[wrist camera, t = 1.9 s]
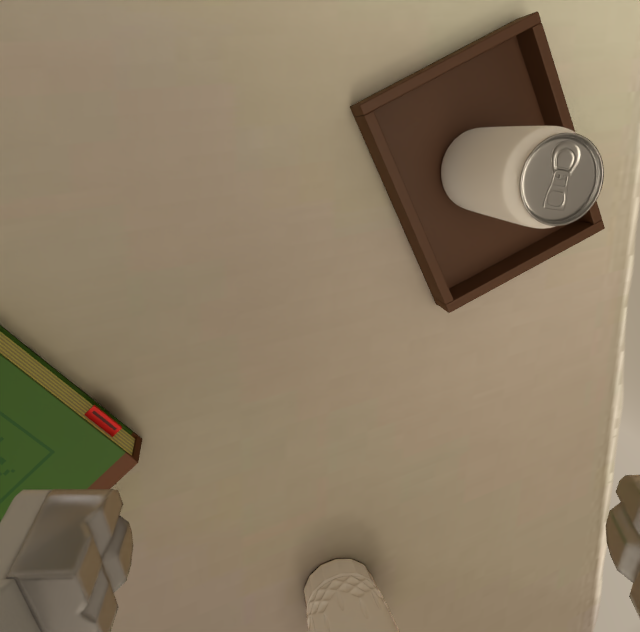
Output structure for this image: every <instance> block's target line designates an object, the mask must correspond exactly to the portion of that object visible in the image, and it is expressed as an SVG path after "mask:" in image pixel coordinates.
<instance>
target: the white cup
mask: <svg viewBox="0 0 640 632" xmlns="http://www.w3.org/2000/svg"><path fill="white" fill-rule="evenodd" d="M304 595H305V604H306V609H307V623H308V631H309V632H400V631H399V629H398V627H397V625H396V623H395V621H394V618H393V616H392V614H391V612H390V610H389V608H388V606H387V604H386V602H385V601H384V598H383V596H382V594H381V592H380V590H379V589H378V588H377V586H376V584H375V582H374V579H373V577H372V575H371V574H370V572H369V571H368V570H367V568H366V567H365V565H364V564H361V563H359V562H357V561H355V560H353V559H335V560H332V561H330V562H327V563H325V564H322V565H321V566H319V567H318V568H317V569H316V570H315V571H314V572H313V573H312V574H311V575H310V576H309V578H308V581H307V583H306V585H305V588H304Z"/></svg>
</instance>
